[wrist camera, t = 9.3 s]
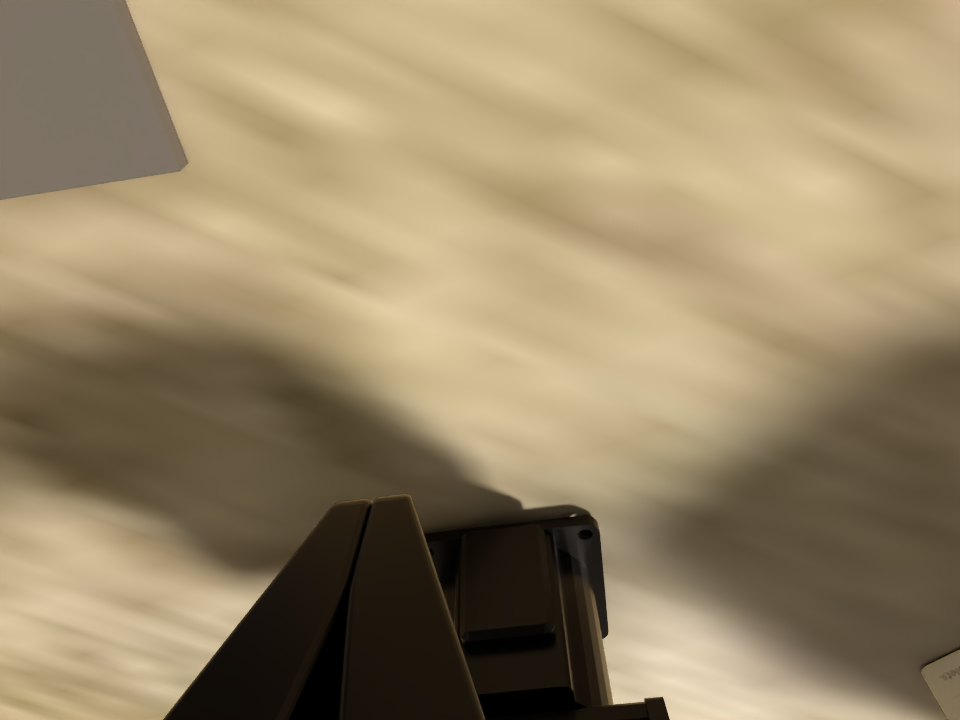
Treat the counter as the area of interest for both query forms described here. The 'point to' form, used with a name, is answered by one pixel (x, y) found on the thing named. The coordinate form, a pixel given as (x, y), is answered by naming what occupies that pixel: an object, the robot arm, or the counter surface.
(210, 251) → the counter surface
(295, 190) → the counter surface
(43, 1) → the rubber mat
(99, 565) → the counter surface
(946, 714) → the supplement box
